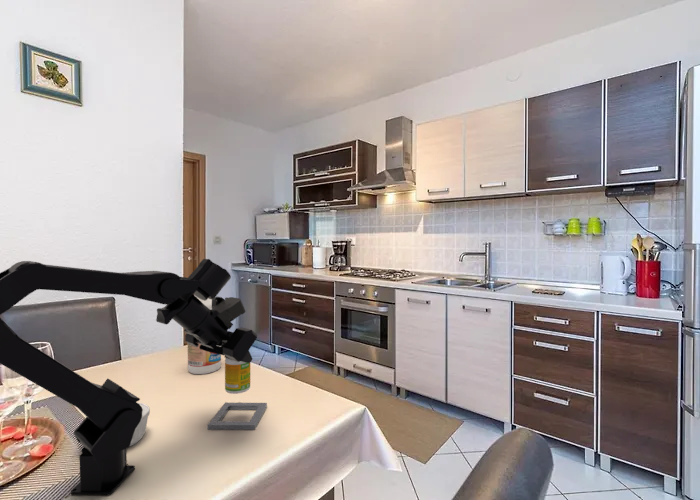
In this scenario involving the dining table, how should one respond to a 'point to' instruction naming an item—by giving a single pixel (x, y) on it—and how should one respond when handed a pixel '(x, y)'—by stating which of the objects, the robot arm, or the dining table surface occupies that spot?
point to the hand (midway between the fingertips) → (242, 358)
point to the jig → (237, 425)
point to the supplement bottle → (236, 376)
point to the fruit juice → (203, 355)
